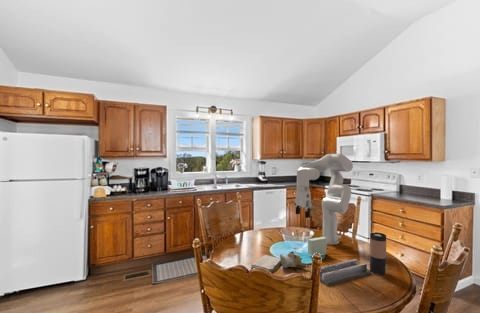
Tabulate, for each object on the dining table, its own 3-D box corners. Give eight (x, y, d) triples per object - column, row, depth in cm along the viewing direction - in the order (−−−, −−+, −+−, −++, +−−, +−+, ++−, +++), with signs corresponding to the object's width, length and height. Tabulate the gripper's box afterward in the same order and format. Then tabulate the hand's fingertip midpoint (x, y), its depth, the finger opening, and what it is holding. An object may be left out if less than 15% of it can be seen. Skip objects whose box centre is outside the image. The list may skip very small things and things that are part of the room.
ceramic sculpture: (277, 247, 138) (302, 248, 140) (276, 263, 138) (300, 262, 141) (284, 255, 127) (310, 255, 130) (282, 272, 127) (309, 271, 130)
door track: (351, 264, 138) (352, 257, 138) (371, 273, 127) (371, 266, 127) (310, 274, 125) (310, 266, 125) (327, 286, 114) (327, 277, 114)
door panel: (322, 252, 154) (323, 236, 154) (326, 254, 152) (326, 238, 152) (307, 255, 149) (308, 239, 149) (311, 257, 147) (311, 240, 147)
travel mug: (385, 276, 124) (386, 237, 124) (368, 272, 128) (369, 235, 128) (386, 270, 130) (386, 233, 130) (369, 267, 134) (370, 231, 134)
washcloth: (250, 269, 131) (250, 264, 131) (264, 257, 146) (264, 252, 146) (270, 275, 125) (270, 269, 125) (283, 262, 140) (283, 257, 140)
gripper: (317, 190, 145) (316, 218, 145) (299, 186, 161) (299, 212, 161) (306, 190, 142) (306, 219, 142) (289, 186, 158) (289, 213, 158)
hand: (302, 215), depth 152 cm, fingers open, 9 cm apart
